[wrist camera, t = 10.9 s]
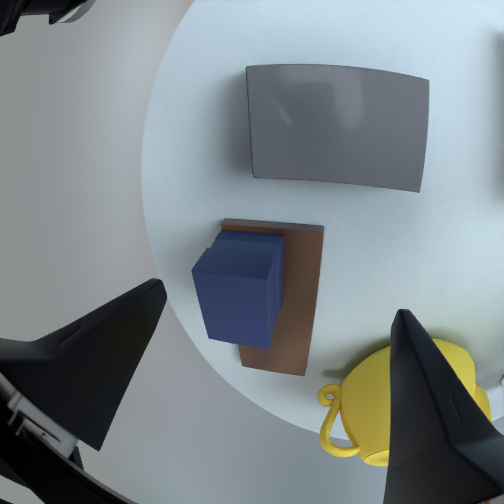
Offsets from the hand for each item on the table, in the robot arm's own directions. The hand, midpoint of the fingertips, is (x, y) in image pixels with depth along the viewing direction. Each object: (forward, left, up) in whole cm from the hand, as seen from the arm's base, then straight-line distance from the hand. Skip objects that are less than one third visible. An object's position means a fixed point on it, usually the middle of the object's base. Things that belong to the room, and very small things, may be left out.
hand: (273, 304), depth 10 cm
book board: (-2, -13, -12) cm, 18 cm away
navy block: (-4, -7, -8) cm, 11 cm away
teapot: (+16, -22, -12) cm, 30 cm away
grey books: (+2, +5, -12) cm, 13 cm away
